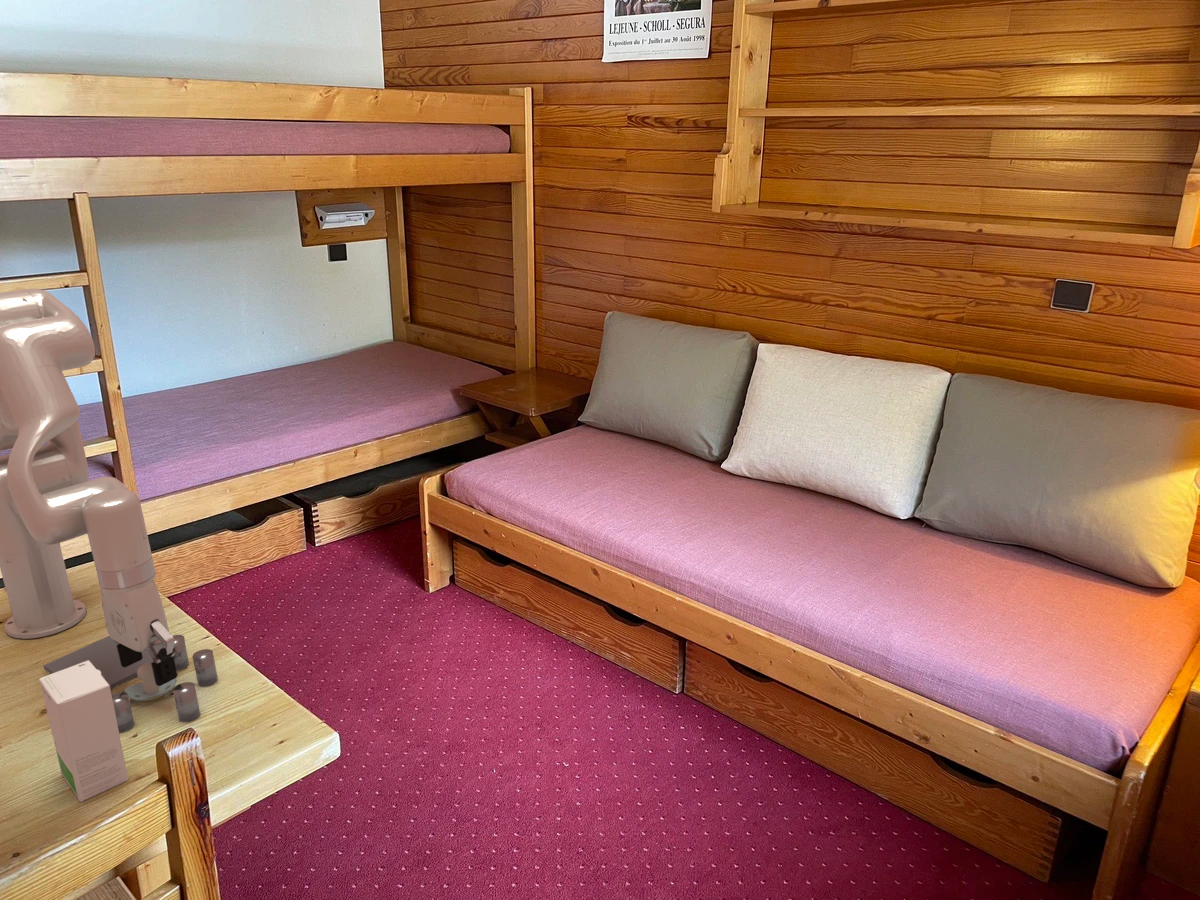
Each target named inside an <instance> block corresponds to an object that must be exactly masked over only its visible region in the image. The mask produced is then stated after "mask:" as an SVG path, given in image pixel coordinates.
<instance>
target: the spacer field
mask: <svg viewBox="0 0 1200 900" xmlns="http://www.w3.org/2000/svg"><path fill="white" fill-rule="evenodd" d="M172 636H173V638H174V639H175V644H174V648H175V651H174V656H173V657H174V661H175V666H176V671H177V672H179V671H180V672H181V671H183V670H185V669H187V668H189V666H190V659H189V657H188V650H187V646H186V640H185V636H184V635H182V634H174V635H172ZM191 657H192V660H193V666H194V672H195V676H196V677H195V678H196V681H197V686H199V687H201V688H202V687H204V688H205V687H206V688H207V687H210V686H213V685H215V684H216V683H217V682H218V681H219V676H218V674H217V673H218V672H217V666H216V661H215V657H214V652H213V650H212V649H209V648H205V649H204V648H203V649H200V650H197V651H196V652H194V653H193V654H192V656H191ZM172 693H173V697H174V703H175V706H176V710H177V711H176V712H177V717H178V720H179V722H181V723H190V722H193V721H195V720H197V719H199V717H200V716H201V709H200V705H199V699H198V693H197V690H196V684H195V683H194V682H191V681H184V682H181V683H178V684H177V685H175V686H174V687H173V688H172ZM111 695H112V700H113V705H114V710H115V715H116V720H117V725H118V730H119V734H122V733H126V732H128V731H130V730H131V729H132V728H134V726H135V718H134V714H133V711H132V705H131V702H130V698H129V696H128V693H126V692H125V691H119V692H115V693H111Z"/></svg>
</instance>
